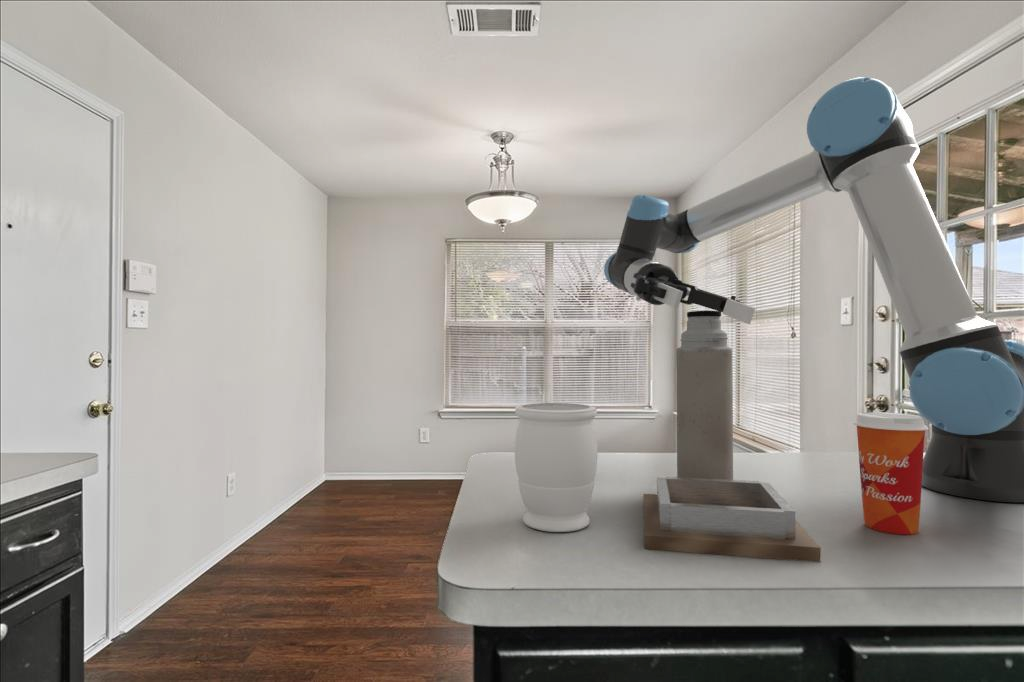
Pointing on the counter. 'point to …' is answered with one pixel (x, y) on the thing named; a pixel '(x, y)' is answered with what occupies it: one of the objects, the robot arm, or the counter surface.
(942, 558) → the counter surface
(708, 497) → the steel collar
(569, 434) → the jar
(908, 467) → the paper cup
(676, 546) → the walnut dock board
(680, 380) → the thermos bottle
